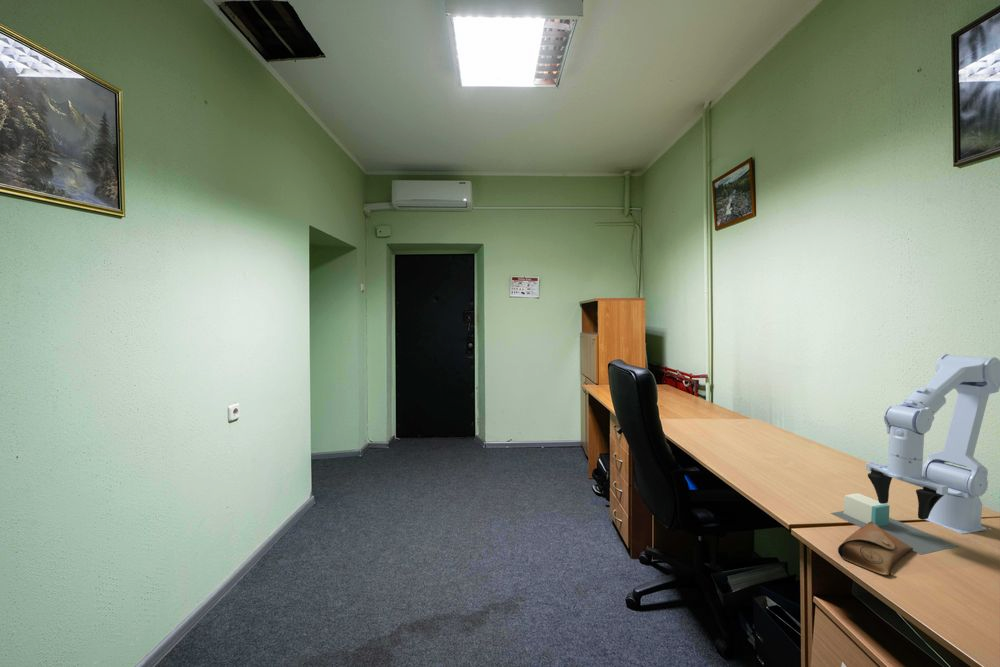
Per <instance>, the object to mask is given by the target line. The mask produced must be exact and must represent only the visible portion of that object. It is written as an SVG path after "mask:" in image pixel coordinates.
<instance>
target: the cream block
mask: <svg viewBox="0 0 1000 667" xmlns="http://www.w3.org/2000/svg"><path fill="white" fill-rule="evenodd" d="M843 497H844V498H843V511H844V514H846V515H849V516H851V517H853V518H855V519H858V520H860V521H862V522H864V523H867V524H868V523H869V522H871V521H873V522H874V523H875V524H876V525H877V526H883V525H889V518H890V504H888V503H884V504H881V503H879V501H878V499H877V500H876V499H874V498H871V497H869V496H866V495H863V494H861V493H859V492H856V493H851V494H850V493H849V494H845V495H844V496H843Z"/></svg>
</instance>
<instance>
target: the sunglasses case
mask: <svg viewBox="0 0 1000 667" xmlns="http://www.w3.org/2000/svg"><path fill="white" fill-rule="evenodd" d="M913 549H914V548H912V547H910V546H909V545H907V544H905V543H904V542H902V541H900V540H899V539H897V538H896V537H894V536H893V535H891V534H889V533H888V532H886V531H885V530H883V529H881V528H880V527H878V526H877V525H876V524H875V523H874V522H873V521H871V522H869V523H868V524H867V525H865V526H863V527H859V529H858V530H856V531H855V532H853V533H851V534H850V535H849V537H847V538H846V539H844V541H843V542H842V543H841V544H840V545H839V546H838V548H837V554H839V556H840V557H841V559H842V560H845V562H846V561H847V562H848V563H851V564H853V565H855V566H858V567H860V568H862V569H865V570H868V571H870V572H873V573H876V574H879V575H882V576H889V575H890V572H891V571H892V568H893V567H894V566H895V565H896V563H898V561H900V560H901V559H902V558H904V556H906V555H907V554H909V553H910V552H911V550H913Z"/></svg>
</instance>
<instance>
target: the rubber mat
mask: <svg viewBox="0 0 1000 667" xmlns="http://www.w3.org/2000/svg"><path fill="white" fill-rule="evenodd" d="M830 514H831V515H833V516H835V517H837V518H839V519H842V520H844V521H847V522H848V523H850V524H852V525H854V526H857V527H858V528H861V527H863V526H865V525H867V523H864V522H862V521H860V520H858V519H855V518H853V517H851V516H849V515H846V514H844V510H843V511H842V510H841V511H836V512H831V513H830ZM878 527H880V528H881V529H883V530H885V531H886V532H888V533H889V534H891V535H893V536H894V537H896V538H897V539H899V540H900V541H902V542H904V543H905V544H907V545H909V546H910V547H912V548H914V549H913V550H911V551H912V552H913V553H916V554H918V555H921V556H922V555H927V554H930V553H935V552H939V551H944V550H948V549H953V548H957V547H959V545H957V544H955V543H952V542H951V541H949V540H946V539H943V538H940V537H938V536H935V535H933V534H931V533H929V532H925V531H923V530H921V529H919V528H916V527H914V526H911V525H909V524H907V523H904V522H901V521H899V520H896V519H894V518H892V517H889V525H883V526H878ZM911 551H910V552H911Z"/></svg>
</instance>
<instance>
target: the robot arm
mask: <svg viewBox="0 0 1000 667" xmlns="http://www.w3.org/2000/svg"><path fill="white" fill-rule="evenodd" d="M952 390H956V392H957V396H956V400H955V403H954V407H953V412H952V416H951V420H950V424H949V427H948V432H947V434H946V439H945V443H944V447H943V449H942V450H940V451H936V452H932V453H929V454H928V456H927V458H926V461H925V462H924V445H925V444H924V443H925V434H927V433H928V432H930V430H931V428H932V425H933V422H934V420H935V415H936V414H937V413H938V412H939V411H940V410H941V408H943V406H945V404H946V403H947V399H946V397H945V396H946V395H948V394H949V393H950V392H951V391H952ZM999 390H1000V359H999V358H997V357H993V356H992V357H986V356H985V357H984V356H983V357H981V356H971V355H970V356H969V355H968V356H967V355H955V354H947V353H944V354H941V355H940V356H938V358H937V359H936V363H935V374H934V375H933V377H932V378H931V379H930V380H929V382H927V384H926V386H920V387H917V388H915V389H914V390H913V391H912V392H911V393H910V394H909V395H908V396H907V397H905V399H904V400H903V401H901V403H899V405H898V404H895V405H893V406H892V405H890V406H889V407H887V409H886V410H885V411H884V412H885V413H884V416H883V421H884V423H885V427H886V432H887V434H888V435H889V437H888V438H889V439H888V459H887V465H883V464H882V463H881V464H880V463H877V462H876V463H875V462H872V461H871V462H866V464H865V470H866V471H869V473H867V478H868V479H869V481H870V482H871V484H872V486H873V489H874V491H875V493H876V496H877V501H879V503H881V504H884V503H885V504H888V503H889V496H890V494H889V493H890V486H891V483H892V480H893V479H896V480H898V481H901V482H905V483H908V484H910V485H914V486H917V487H919V489H916V490H915V493H916V496H917V502H918V503H917V504H918V508H917V518H918V519H919V520H925V521H928V522H931V523H933V524H935V525H936V526H937V525H938V526H940V527H943V528H946V529H948V530H950V531H954V532H956V533H958V534H962V535H966V534H971V533H974V532H975V533H977V532H981V531H986V530H987V528H986V527H985V526H982V513H983V502H982V500H981V498H980V497H982V496H983V495H985V493H986V492H987V490H988V487H989V481H988V473H989V470H988V469H987V467H986V466H984V465H983V464H982V463H981V462H980V461H979V460H977V459H976V458H975V456H974V455H975V452H976V448H977V445H978V444H977V443H978V439H979V436H980V432H981V428H982V424H983V419H984V416H985V412H986V408H987V403H988V401H989V398H990V395H991V394H996V393H998V392H1000V391H999ZM923 463H924V464H923ZM956 465H958V466H956Z"/></svg>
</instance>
